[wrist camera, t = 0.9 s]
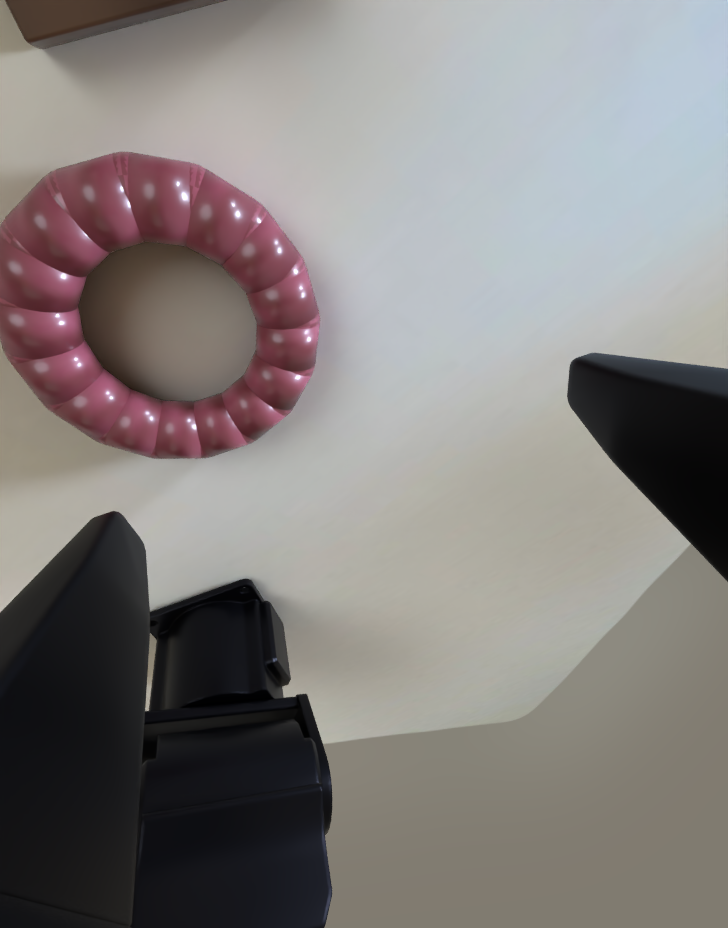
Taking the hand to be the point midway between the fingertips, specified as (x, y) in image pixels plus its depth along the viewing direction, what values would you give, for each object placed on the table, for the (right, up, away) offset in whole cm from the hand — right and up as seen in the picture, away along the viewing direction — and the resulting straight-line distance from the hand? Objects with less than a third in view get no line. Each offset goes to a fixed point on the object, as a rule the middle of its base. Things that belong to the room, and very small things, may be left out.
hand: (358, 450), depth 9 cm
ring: (-7, +5, +8) cm, 12 cm away
